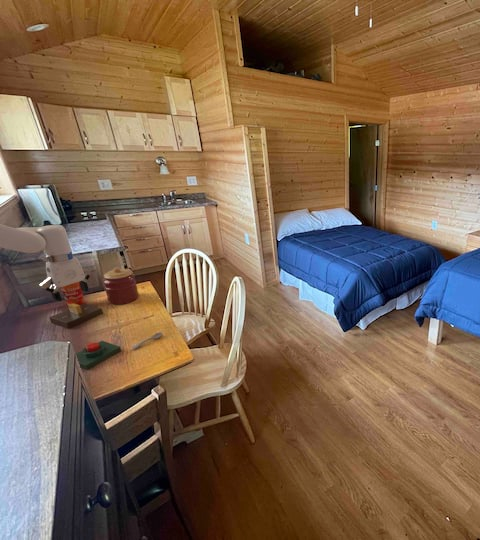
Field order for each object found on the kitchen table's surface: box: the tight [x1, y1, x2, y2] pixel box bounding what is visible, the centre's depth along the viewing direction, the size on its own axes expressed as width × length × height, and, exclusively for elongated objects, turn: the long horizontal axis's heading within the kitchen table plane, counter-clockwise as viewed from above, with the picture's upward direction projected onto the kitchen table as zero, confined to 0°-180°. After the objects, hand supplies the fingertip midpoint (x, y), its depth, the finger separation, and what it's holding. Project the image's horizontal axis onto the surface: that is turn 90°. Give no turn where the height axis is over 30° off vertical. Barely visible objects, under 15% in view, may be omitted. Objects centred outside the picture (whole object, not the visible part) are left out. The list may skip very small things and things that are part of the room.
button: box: [85, 342, 100, 352], centre depth 113 cm, size 4×4×2 cm
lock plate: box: [48, 303, 104, 330], centre depth 136 cm, size 14×11×3 cm
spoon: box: [130, 332, 163, 351], centre depth 125 cm, size 3×12×2 cm, turn 153°
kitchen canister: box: [102, 266, 140, 305], centre depth 152 cm, size 13×13×18 cm
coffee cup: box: [59, 281, 85, 306], centre depth 145 cm, size 8×8×15 cm
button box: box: [75, 340, 122, 371], centre depth 114 cm, size 12×10×4 cm
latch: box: [67, 302, 82, 315], centre depth 135 cm, size 6×2×4 cm, turn 71°
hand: (72, 295), depth 124 cm, fingers open, 9 cm apart
